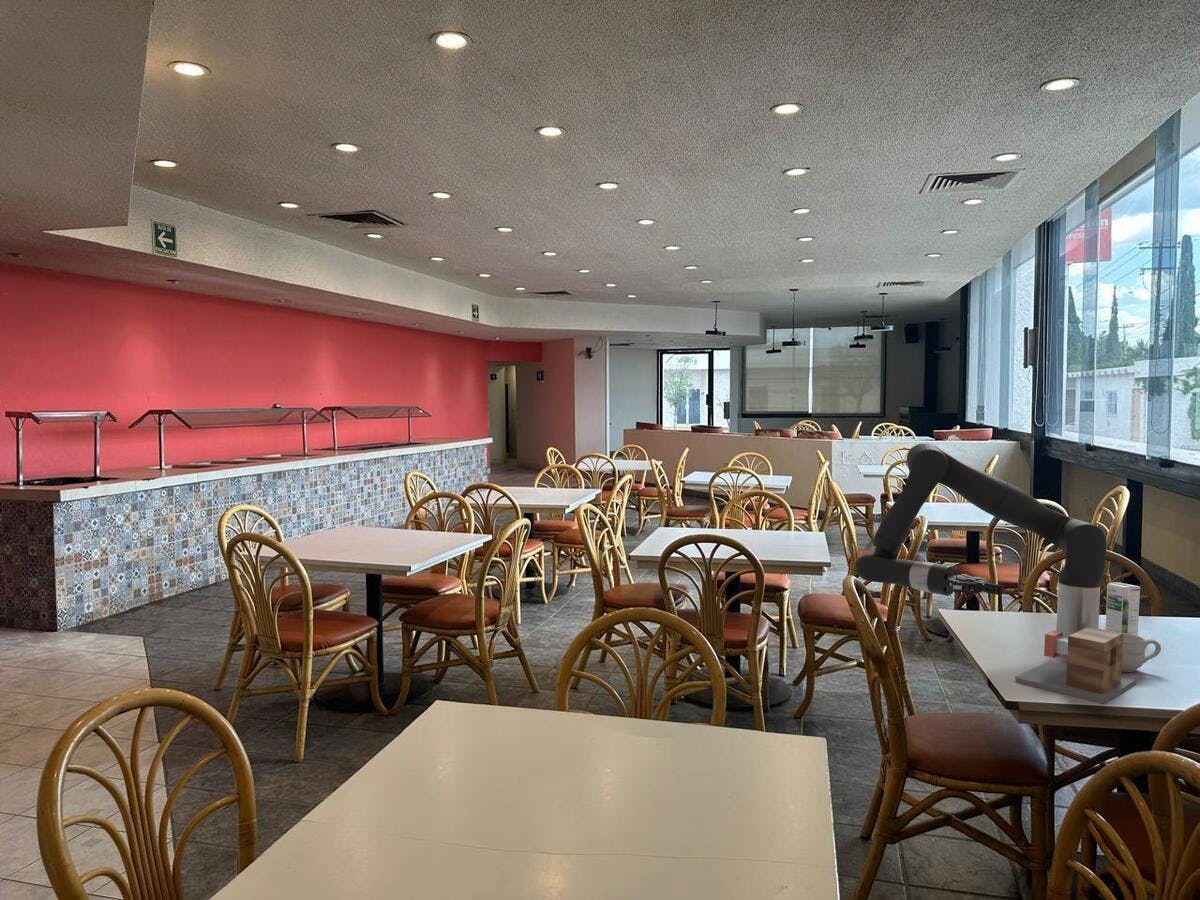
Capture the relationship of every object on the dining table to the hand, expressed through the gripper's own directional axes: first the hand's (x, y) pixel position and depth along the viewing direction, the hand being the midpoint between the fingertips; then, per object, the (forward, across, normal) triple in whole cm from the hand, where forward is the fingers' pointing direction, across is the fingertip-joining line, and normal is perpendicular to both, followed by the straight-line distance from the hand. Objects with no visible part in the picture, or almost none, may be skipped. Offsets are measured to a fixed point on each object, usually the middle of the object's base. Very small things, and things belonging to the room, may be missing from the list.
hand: (1002, 590), depth 194 cm
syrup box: (+10, +52, +18) cm, 56 cm away
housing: (+20, 0, +18) cm, 27 cm away
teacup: (+20, +21, +18) cm, 34 cm away
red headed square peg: (+15, 0, +13) cm, 20 cm away
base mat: (+16, +1, +18) cm, 24 cm away
